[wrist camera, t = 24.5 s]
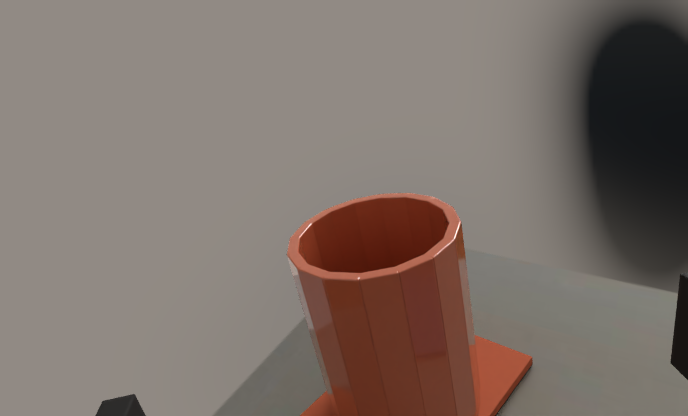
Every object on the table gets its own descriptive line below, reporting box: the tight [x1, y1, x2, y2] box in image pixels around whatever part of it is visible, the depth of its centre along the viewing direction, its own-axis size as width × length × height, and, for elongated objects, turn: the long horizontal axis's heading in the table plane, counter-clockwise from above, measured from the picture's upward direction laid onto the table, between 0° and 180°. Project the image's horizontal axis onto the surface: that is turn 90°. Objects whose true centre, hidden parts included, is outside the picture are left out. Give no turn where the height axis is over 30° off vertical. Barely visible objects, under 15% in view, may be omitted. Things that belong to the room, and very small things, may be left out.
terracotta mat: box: [300, 335, 532, 416], centre depth 25 cm, size 12×8×1 cm, turn 136°
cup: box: [287, 193, 481, 416], centre depth 23 cm, size 7×7×10 cm
